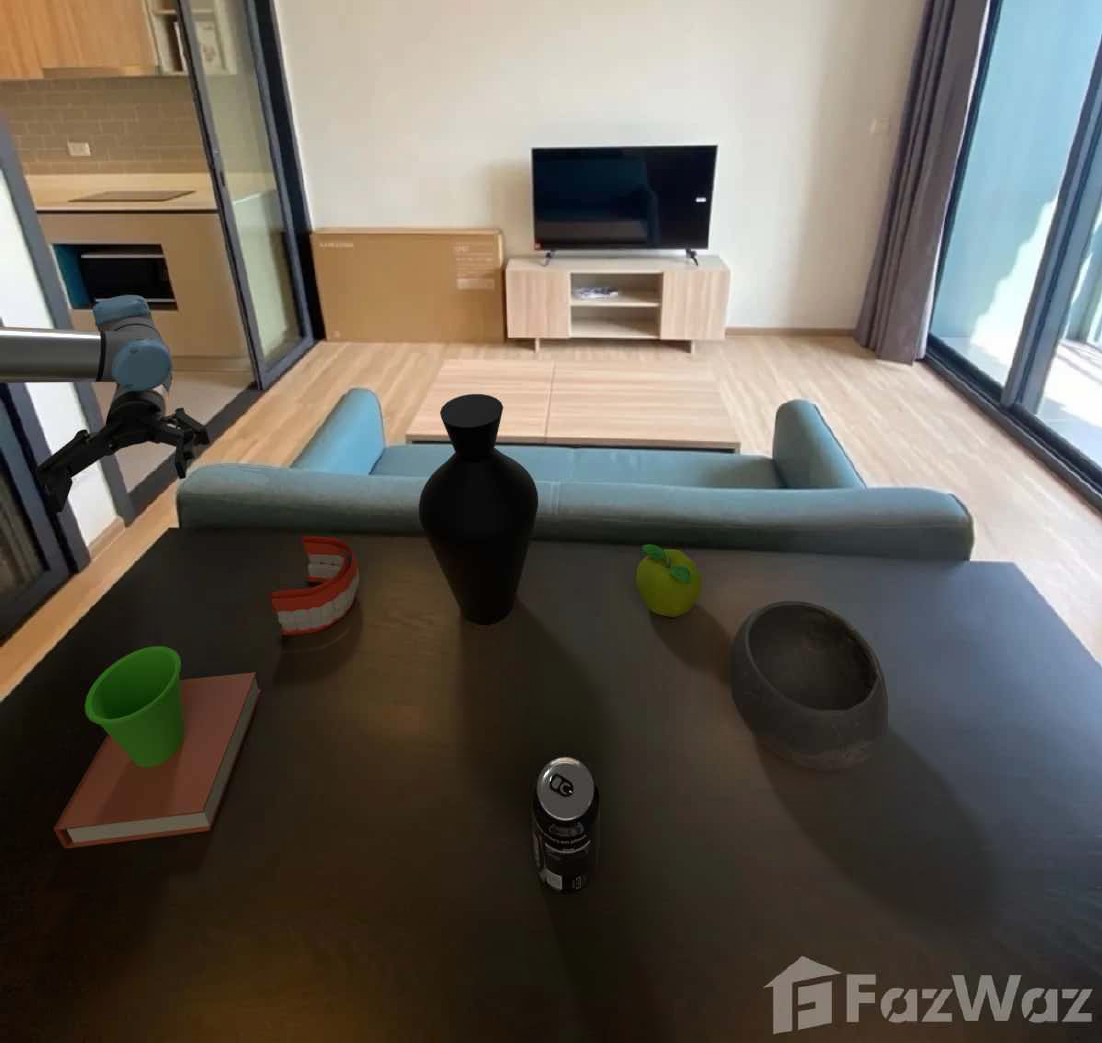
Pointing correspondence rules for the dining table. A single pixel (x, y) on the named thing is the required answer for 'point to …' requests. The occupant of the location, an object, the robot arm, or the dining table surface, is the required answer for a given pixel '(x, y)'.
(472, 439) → the vase
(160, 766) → the book
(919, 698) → the dining table surface
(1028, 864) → the dining table surface
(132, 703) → the cup
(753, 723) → the bowl
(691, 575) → the fruit
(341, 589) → the toy
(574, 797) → the beverage can
